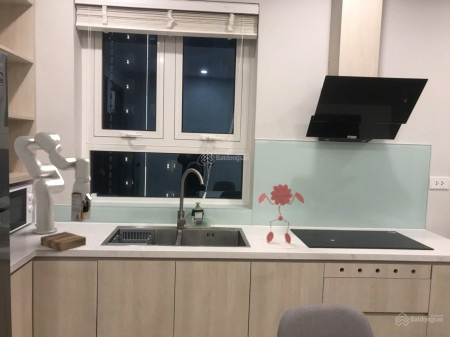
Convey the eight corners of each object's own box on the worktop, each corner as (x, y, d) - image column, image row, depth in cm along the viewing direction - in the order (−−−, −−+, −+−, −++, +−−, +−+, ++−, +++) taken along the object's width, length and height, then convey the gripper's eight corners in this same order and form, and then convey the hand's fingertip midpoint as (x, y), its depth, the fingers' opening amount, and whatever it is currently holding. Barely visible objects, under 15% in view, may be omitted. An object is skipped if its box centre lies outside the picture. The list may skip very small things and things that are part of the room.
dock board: (40, 244, 180) (40, 237, 180) (65, 238, 192) (65, 231, 192) (61, 251, 171) (61, 243, 171) (85, 244, 183) (85, 237, 183)
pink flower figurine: (256, 239, 206) (259, 181, 202) (299, 242, 203) (303, 183, 200) (256, 247, 190) (259, 185, 187) (303, 250, 188) (307, 187, 185)
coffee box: (80, 217, 201) (81, 190, 199) (90, 218, 199) (91, 191, 198) (70, 221, 192) (71, 192, 190) (80, 222, 190) (81, 193, 189)
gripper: (66, 179, 195) (65, 209, 196) (86, 182, 186) (85, 214, 187) (78, 178, 201) (77, 207, 203) (97, 181, 192) (96, 212, 194)
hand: (81, 210), depth 195 cm, fingers closed on coffee box, 7 cm apart
